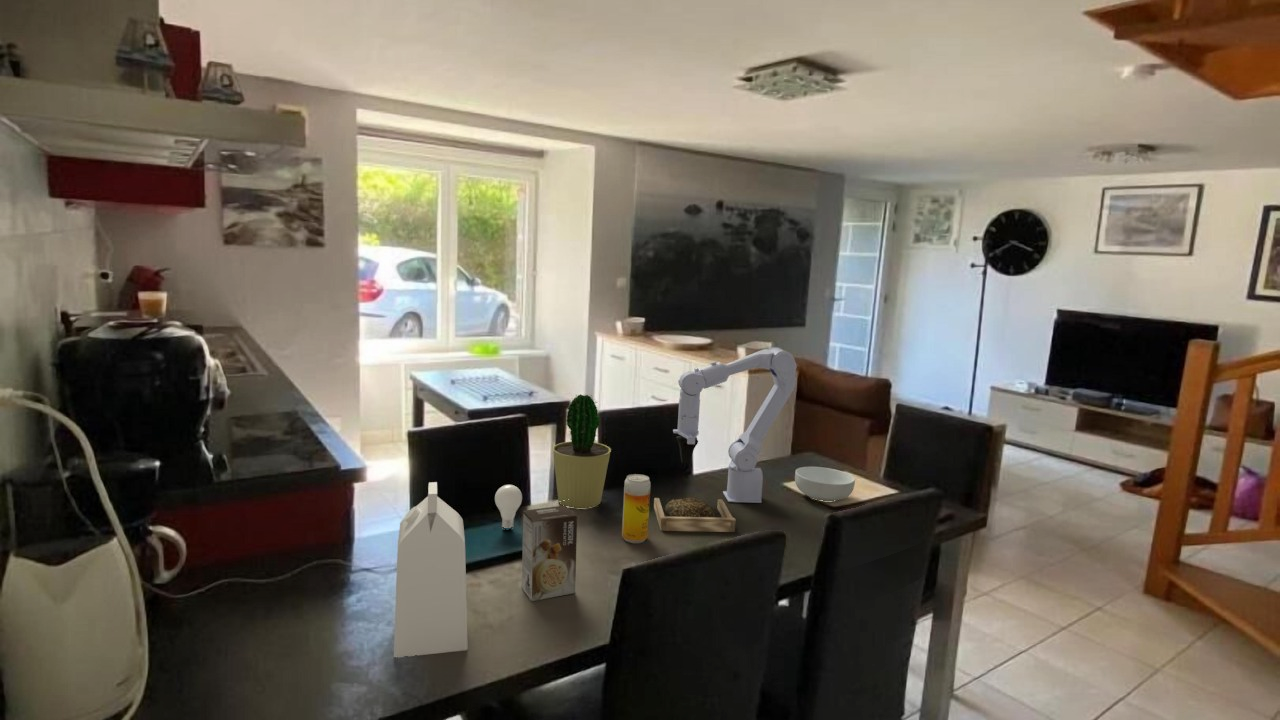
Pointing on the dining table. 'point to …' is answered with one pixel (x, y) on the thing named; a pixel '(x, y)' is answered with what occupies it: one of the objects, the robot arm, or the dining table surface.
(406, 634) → the milk
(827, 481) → the cereal bowl
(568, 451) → the potted cactus
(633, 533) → the beer can
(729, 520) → the tray
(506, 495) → the lightbulb
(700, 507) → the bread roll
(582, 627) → the dining table surface
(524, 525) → the coffee box
